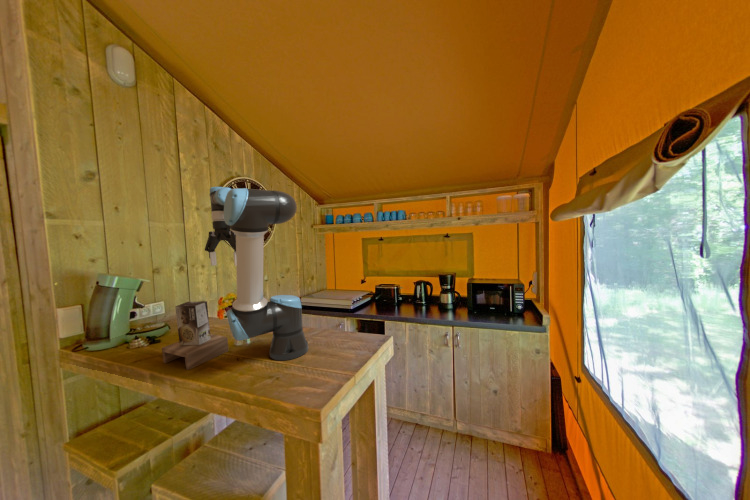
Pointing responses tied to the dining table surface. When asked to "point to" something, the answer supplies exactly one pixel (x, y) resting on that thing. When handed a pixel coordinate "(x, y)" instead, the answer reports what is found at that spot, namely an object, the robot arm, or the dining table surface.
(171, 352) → the walnut shelf
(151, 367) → the dining table surface
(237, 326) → the robot arm
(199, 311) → the coffee box
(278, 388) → the dining table surface
